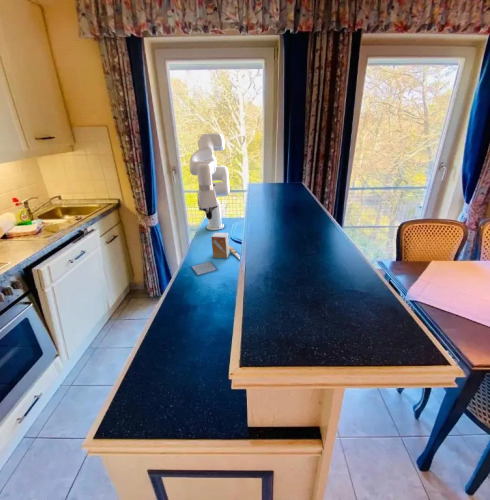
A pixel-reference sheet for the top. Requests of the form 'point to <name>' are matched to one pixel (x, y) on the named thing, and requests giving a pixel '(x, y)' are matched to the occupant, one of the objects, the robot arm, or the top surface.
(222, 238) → the small box
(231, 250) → the knife
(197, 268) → the cloth
